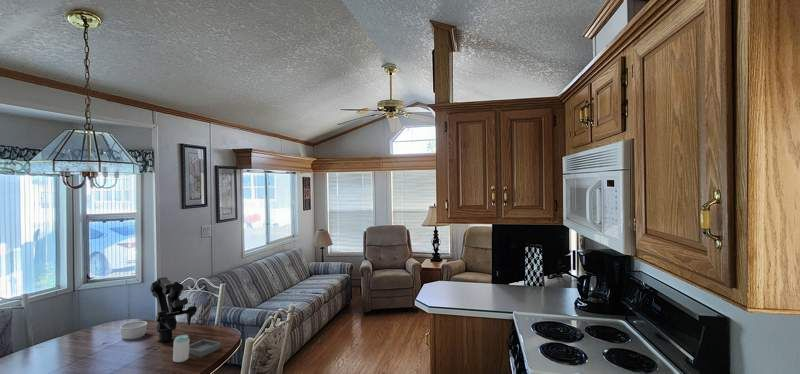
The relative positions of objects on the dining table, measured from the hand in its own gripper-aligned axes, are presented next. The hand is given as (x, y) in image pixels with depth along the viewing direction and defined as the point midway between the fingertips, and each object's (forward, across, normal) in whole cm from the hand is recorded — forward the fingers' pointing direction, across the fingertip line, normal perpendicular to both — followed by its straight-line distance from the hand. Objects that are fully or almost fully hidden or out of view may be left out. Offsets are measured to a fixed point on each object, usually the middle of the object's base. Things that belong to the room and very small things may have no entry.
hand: (180, 327), depth 197 cm
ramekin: (-24, -12, +41) cm, 49 cm away
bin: (+12, +11, +9) cm, 18 cm away
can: (+16, -1, +6) cm, 17 cm away
